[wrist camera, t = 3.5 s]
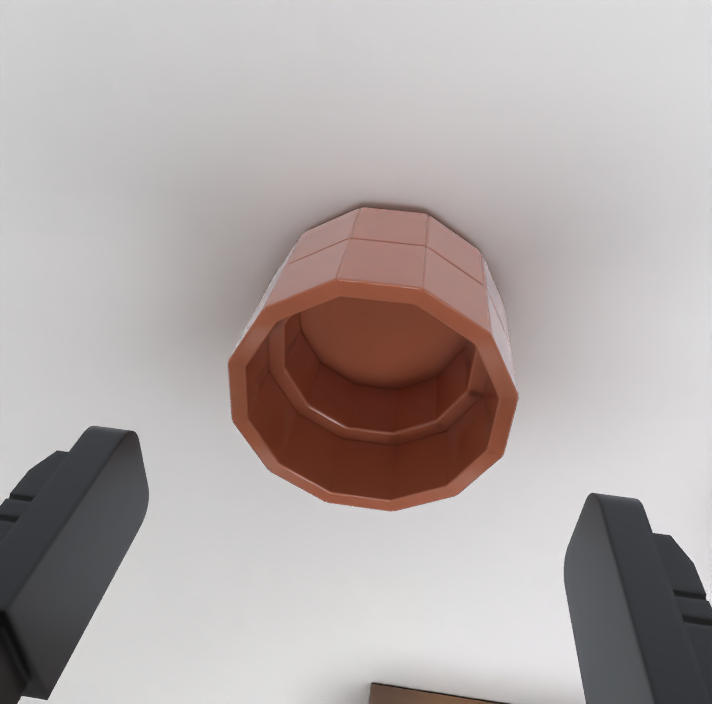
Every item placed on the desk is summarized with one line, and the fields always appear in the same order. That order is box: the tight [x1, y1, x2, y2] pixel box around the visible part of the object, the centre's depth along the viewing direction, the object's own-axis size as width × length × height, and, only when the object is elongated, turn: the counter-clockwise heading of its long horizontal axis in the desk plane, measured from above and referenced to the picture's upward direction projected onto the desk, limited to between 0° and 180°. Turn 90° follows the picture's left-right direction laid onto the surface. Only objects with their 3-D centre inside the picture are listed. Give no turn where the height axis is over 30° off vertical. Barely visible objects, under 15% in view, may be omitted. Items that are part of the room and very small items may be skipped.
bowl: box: [228, 207, 519, 511], centre depth 15 cm, size 6×6×4 cm
